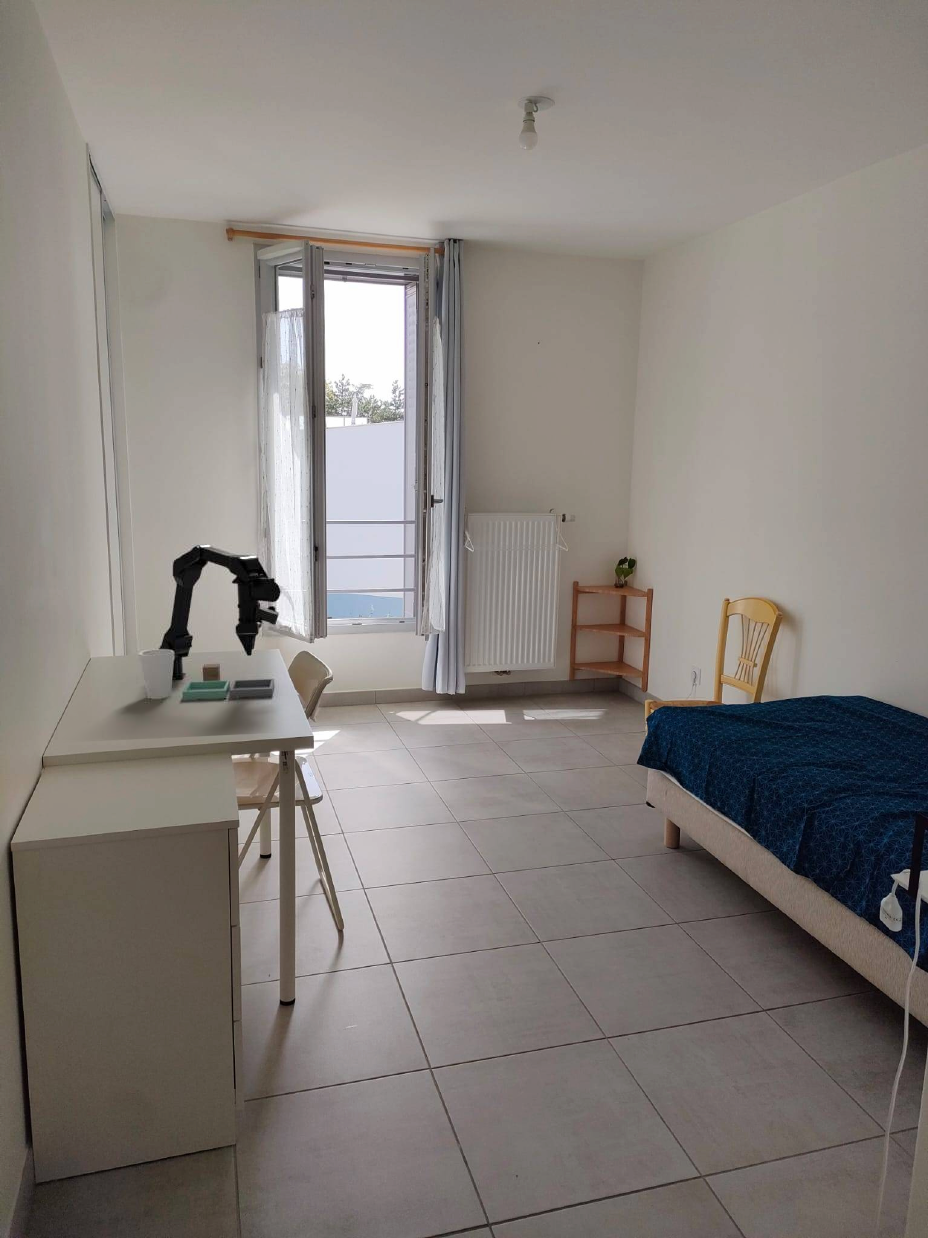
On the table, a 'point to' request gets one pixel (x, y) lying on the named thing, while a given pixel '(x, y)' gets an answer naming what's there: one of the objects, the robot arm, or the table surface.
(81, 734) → the table surface
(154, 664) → the foam cup
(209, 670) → the walnut block
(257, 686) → the tray
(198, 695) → the tray
